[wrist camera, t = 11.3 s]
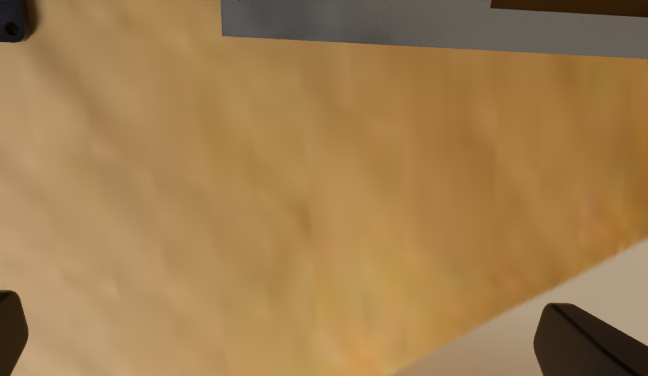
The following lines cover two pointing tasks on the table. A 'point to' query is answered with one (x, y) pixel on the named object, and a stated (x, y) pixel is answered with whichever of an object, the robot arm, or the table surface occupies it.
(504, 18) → the rail plate
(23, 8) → the robot arm
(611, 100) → the table surface
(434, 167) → the table surface
